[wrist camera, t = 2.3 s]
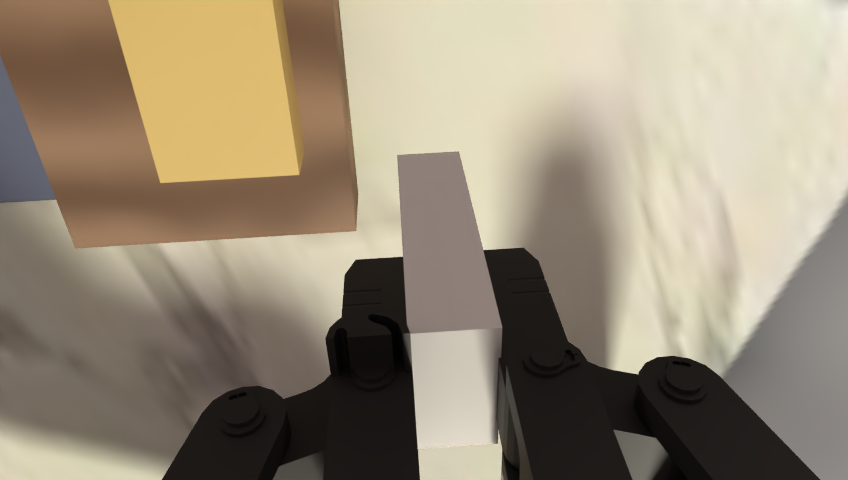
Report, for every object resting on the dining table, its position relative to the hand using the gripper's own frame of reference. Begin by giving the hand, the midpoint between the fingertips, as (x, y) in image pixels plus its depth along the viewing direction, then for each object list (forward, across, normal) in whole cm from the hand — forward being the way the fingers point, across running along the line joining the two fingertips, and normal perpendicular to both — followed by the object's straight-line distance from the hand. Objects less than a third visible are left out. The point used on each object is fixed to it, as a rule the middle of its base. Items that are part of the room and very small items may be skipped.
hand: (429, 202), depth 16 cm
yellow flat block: (+14, +8, 0) cm, 16 cm away
